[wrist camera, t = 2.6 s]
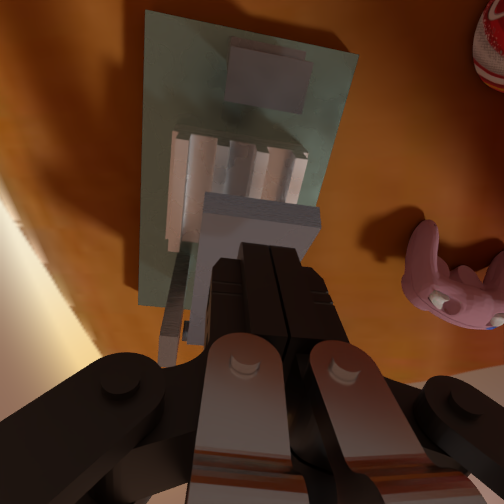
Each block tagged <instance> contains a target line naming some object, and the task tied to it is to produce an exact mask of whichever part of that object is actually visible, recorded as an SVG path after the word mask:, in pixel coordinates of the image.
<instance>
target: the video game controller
mask: <svg viewBox="0 0 504 504" xmlns="http://www.w3.org/2000/svg"><path fill="white" fill-rule="evenodd" d="M438 243H439V233H438V227H437V225H436V224H435V222H434V221H432V220H424V221H422V222H421V223H420V224H419V225H418V226H417V227H416V228H415V230H414V232H413V233H412V236H411V238H410V240H409V243H408V247H407V252H406V258H405V274H404V275H403V277H402V281H401V283H402V289H403V292H404V294H405V296H406V297H407V298H408V300H409V301H410V302H411V303H412V304H413V305H414V306H416V307H417V308H419V309H421V310H424V311H430V312H431V313H432V314H434V315H436V316H437V317H439V318H441V319H443V320H445V321H447V322H449V323H452V324H454V325H457V326H460V327H465V328H469V329H485V330H490V329H494V328H496V327H498V326H500V325H502V324H503V323H504V251H501V252H500V253H499V254H498V255H497V256H496V257H495V258H494V259H493V260H492V262H491V264H490V266H489V268H488V270H487V272H486V275H485V278H484V280H483V284H482V282H481V281H480V280H479V278H478V276H477V275H476V273H475V272H474V271H473V270H472V269H471V268H469V267H468V266H465V265H461V266H459V267H457V268H455V269H453V270H452V271H449V268H448V265H447V264H446V262H445V261H444V260H443V259H442V258H440V257H438V256H437V251H438Z"/></svg>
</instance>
